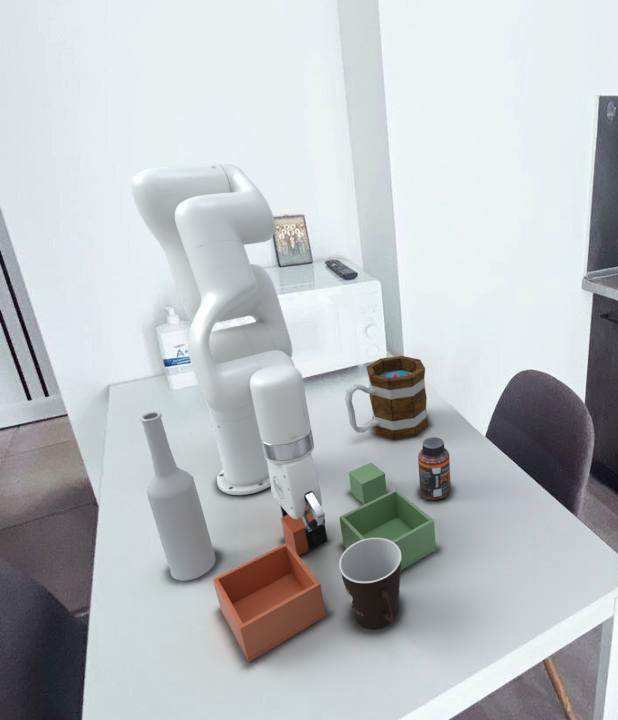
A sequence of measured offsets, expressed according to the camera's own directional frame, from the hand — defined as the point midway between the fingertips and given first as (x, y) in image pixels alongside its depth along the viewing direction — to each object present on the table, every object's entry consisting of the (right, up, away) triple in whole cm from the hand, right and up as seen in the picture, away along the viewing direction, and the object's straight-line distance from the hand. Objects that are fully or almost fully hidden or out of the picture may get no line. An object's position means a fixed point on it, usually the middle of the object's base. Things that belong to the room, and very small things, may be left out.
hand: (304, 530), depth 92 cm
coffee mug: (+14, -9, -13) cm, 21 cm away
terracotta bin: (-1, -8, -12) cm, 15 cm away
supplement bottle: (+21, +3, +14) cm, 25 cm away
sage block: (+8, +3, +14) cm, 16 cm away
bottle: (-17, -5, -3) cm, 18 cm away
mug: (+8, +12, +36) cm, 39 cm away
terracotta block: (-1, -2, +2) cm, 3 cm away
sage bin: (+14, -3, 0) cm, 15 cm away
